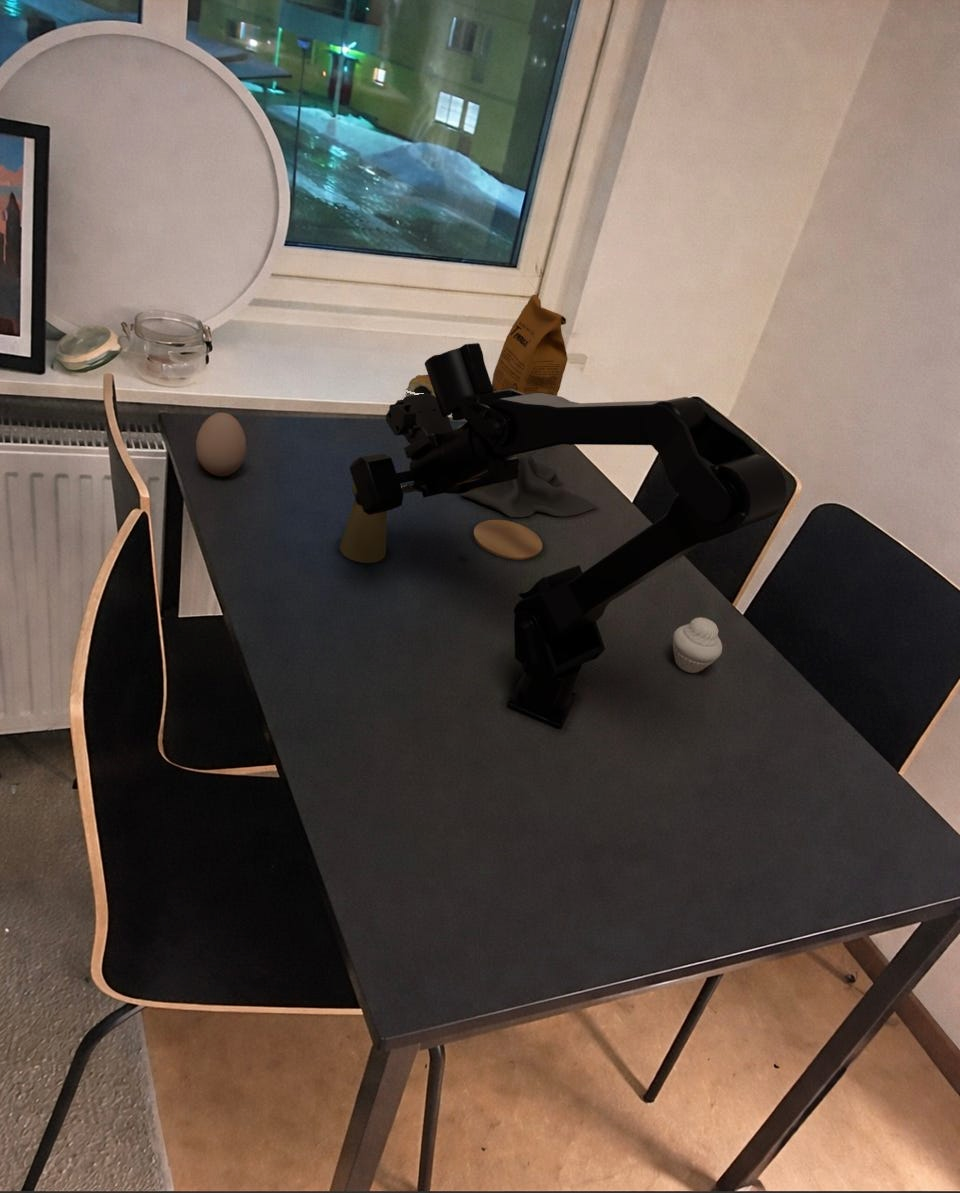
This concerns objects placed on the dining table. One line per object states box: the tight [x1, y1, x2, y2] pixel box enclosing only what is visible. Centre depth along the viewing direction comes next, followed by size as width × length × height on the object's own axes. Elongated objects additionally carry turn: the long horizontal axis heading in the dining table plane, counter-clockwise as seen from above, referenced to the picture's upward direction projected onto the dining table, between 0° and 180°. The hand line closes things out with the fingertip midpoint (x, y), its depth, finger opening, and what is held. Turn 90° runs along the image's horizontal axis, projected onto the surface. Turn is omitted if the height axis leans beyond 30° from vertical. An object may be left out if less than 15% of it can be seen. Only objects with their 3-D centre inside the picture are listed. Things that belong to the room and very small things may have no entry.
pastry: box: [405, 374, 435, 396], centre depth 166 cm, size 9×7×4 cm
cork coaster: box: [472, 519, 543, 561], centre depth 129 cm, size 10×10×1 cm
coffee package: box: [491, 294, 568, 396], centre depth 159 cm, size 10×12×22 cm
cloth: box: [460, 452, 596, 518], centre depth 141 cm, size 22×19×6 cm
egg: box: [195, 412, 247, 477], centre depth 124 cm, size 7×7×9 cm
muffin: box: [672, 616, 723, 674], centre depth 111 cm, size 6×6×7 cm
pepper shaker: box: [339, 481, 388, 564], centre depth 116 cm, size 6×6×11 cm
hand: (387, 493), depth 112 cm, fingers open, 9 cm apart
